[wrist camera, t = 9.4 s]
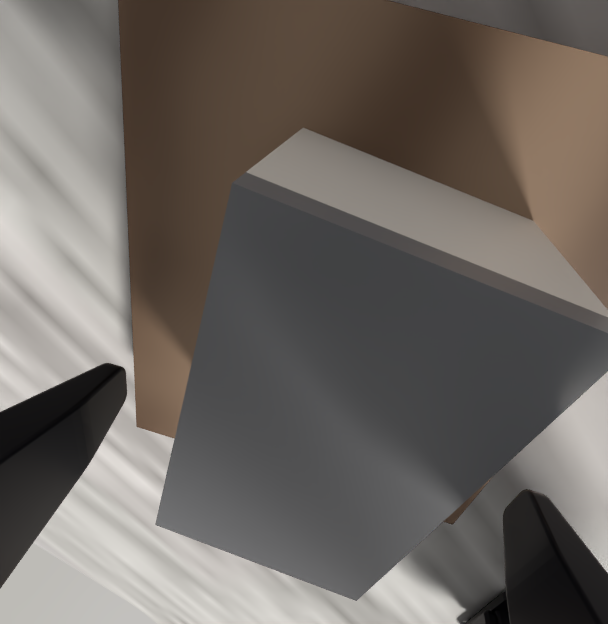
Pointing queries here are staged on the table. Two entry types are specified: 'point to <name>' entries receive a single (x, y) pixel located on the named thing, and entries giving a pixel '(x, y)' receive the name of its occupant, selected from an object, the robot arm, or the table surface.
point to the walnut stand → (338, 137)
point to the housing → (367, 363)
